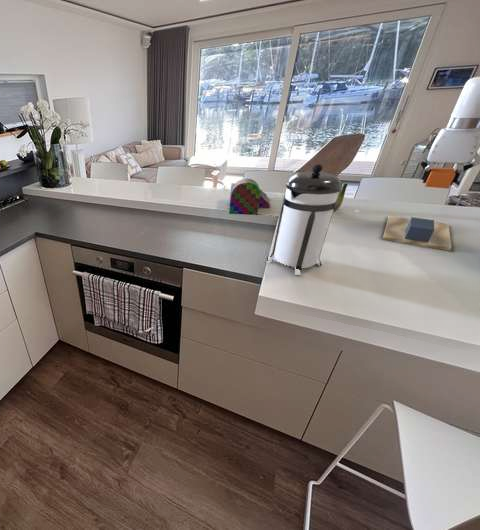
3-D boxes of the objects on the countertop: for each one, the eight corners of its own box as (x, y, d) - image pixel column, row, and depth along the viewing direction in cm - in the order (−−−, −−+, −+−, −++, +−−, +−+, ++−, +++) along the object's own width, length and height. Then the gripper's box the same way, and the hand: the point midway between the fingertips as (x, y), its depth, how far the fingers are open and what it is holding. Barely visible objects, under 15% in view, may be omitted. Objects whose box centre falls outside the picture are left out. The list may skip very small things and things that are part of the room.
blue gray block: (427, 232, 96) (434, 220, 94) (427, 242, 91) (434, 229, 89) (405, 229, 100) (411, 217, 98) (404, 238, 94) (410, 226, 92)
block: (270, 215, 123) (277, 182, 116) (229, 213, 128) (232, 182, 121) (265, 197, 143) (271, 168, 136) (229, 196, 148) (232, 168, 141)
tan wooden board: (447, 226, 101) (448, 223, 101) (450, 250, 88) (451, 247, 87) (388, 218, 111) (389, 215, 110) (382, 239, 97) (383, 236, 97)
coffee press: (330, 280, 80) (367, 171, 65) (266, 272, 86) (287, 170, 71) (320, 252, 94) (349, 156, 78) (266, 247, 100) (283, 156, 84)
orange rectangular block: (447, 181, 98) (454, 168, 95) (448, 188, 92) (455, 174, 90) (425, 180, 101) (431, 167, 99) (424, 186, 96) (431, 172, 93)
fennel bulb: (341, 210, 121) (350, 182, 115) (331, 212, 120) (339, 183, 114) (329, 206, 126) (337, 178, 120) (320, 208, 125) (327, 180, 119)
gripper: (506, 121, 84) (473, 183, 93) (426, 123, 95) (403, 178, 104) (511, 125, 80) (475, 189, 89) (425, 125, 90) (402, 183, 99)
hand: (437, 182), depth 96 cm, fingers closed on orange rectangular block, 5 cm apart
